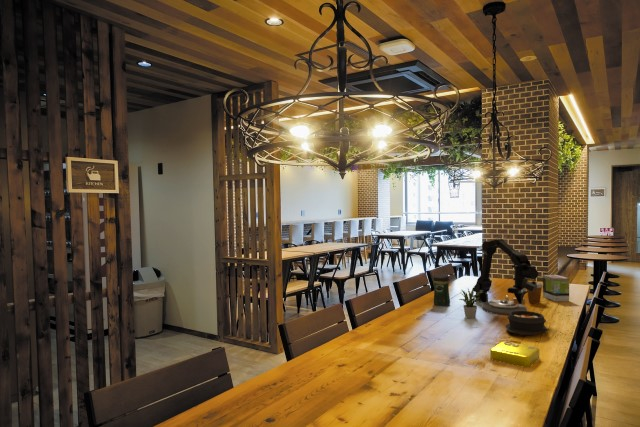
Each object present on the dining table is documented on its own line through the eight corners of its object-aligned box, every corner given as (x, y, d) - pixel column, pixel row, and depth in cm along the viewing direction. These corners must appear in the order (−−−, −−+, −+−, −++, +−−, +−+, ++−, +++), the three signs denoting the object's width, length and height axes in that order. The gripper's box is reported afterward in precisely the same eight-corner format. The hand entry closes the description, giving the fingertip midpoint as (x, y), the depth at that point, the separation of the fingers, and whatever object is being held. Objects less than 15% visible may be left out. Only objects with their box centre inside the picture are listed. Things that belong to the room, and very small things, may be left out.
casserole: (541, 341, 196) (541, 322, 196) (498, 334, 208) (498, 316, 208) (553, 328, 215) (553, 311, 215) (513, 323, 227) (513, 307, 227)
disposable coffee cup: (539, 300, 278) (538, 281, 278) (545, 304, 268) (545, 284, 268) (523, 300, 279) (523, 281, 279) (529, 304, 269) (528, 284, 269)
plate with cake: (490, 307, 251) (490, 299, 251) (488, 302, 266) (488, 294, 266) (526, 309, 245) (526, 301, 245) (522, 303, 260) (522, 295, 260)
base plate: (476, 311, 254) (476, 307, 254) (489, 303, 273) (489, 300, 273) (520, 316, 239) (520, 313, 239) (531, 308, 258) (531, 304, 258)
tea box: (570, 301, 275) (569, 277, 275) (553, 301, 275) (553, 278, 275) (557, 296, 290) (557, 274, 290) (542, 296, 290) (541, 274, 290)
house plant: (487, 321, 230) (487, 290, 230) (460, 320, 233) (459, 290, 233) (483, 315, 244) (482, 285, 244) (457, 314, 247) (456, 285, 247)
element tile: (488, 360, 174) (488, 348, 174) (502, 350, 185) (502, 339, 185) (528, 369, 164) (528, 356, 164) (540, 358, 175) (540, 346, 175)
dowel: (505, 303, 264) (504, 295, 264) (505, 302, 266) (505, 295, 266) (508, 303, 263) (508, 296, 263) (509, 302, 265) (509, 295, 264)
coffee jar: (451, 304, 272) (451, 274, 272) (447, 306, 266) (446, 276, 266) (436, 302, 278) (436, 273, 278) (431, 305, 272) (431, 275, 271)
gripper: (526, 280, 236) (527, 308, 236) (541, 276, 248) (542, 303, 249) (506, 277, 245) (507, 305, 245) (522, 273, 257) (522, 300, 257)
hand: (520, 303), depth 249 cm, fingers closed
